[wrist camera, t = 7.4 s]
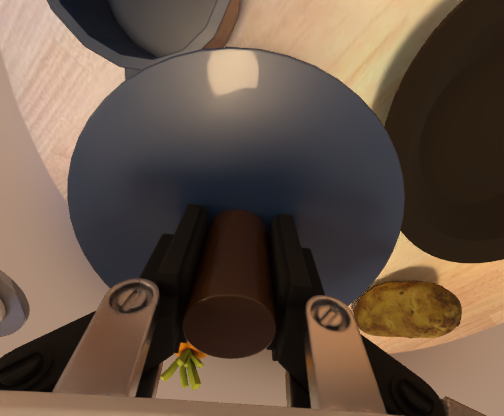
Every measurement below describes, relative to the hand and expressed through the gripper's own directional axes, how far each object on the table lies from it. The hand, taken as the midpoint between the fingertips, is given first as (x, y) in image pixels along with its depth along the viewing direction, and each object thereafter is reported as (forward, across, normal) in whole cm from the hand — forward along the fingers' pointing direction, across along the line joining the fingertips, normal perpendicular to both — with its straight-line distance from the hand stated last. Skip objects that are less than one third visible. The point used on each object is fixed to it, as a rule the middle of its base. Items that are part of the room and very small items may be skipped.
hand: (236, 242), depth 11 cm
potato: (+21, -24, +21) cm, 39 cm away
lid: (+1, 0, 0) cm, 1 cm away
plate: (+21, -25, -3) cm, 33 cm away
